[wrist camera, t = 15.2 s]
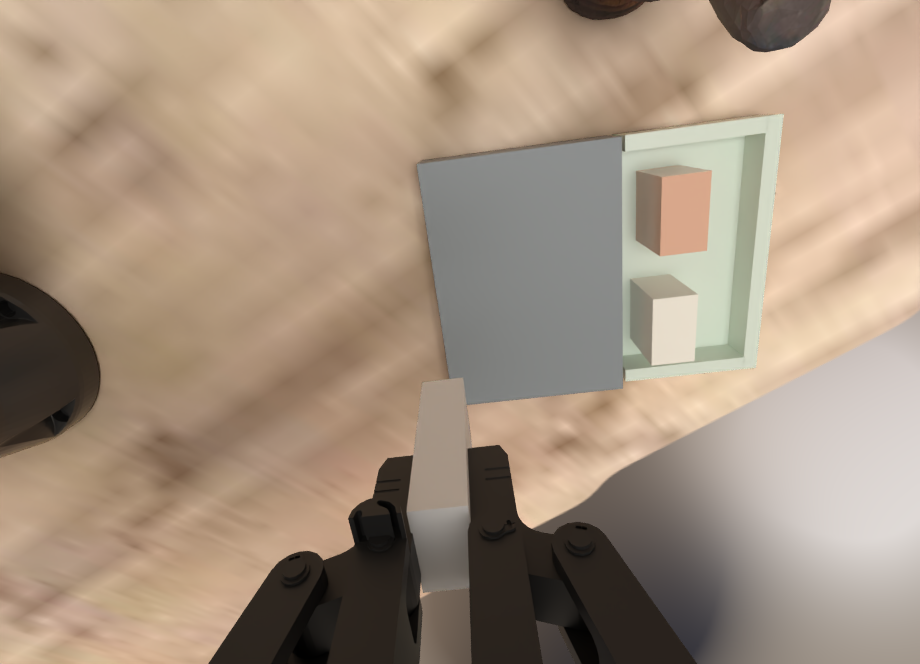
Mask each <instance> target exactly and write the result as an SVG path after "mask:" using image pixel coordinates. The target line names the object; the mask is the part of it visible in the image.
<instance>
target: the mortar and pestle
mask: <svg viewBox="0 0 920 664" xmlns="http://www.w3.org/2000/svg"><path fill="white" fill-rule="evenodd" d="M653 1H658V0H565V2H566V4H567V5H568V7H569V8H570V9H572V10H573V11H575V12H577V13H578V14H580V15H581V16H584V17H587V18H590V19H597V20H599V19H611V18H617V17H620V16H623V15H626V14H628V13H630V12H632V11H633V10H635V9H637V8H638V7H640V6H641V5H642V4H643V3H644V2H653ZM709 1H710V3H711V5H712V7H713V9H714V11H715V13H716V15H717V17H718V19H719V20H720V21H721V23H722V24H723V25H724V27H725V28H726V29H727V31H728V32H729V33H730V35H731V36H732V37H733V38H734V39H736V40H737V41H739V42H741V43H743V44H744V45H745V46H746V47H748V48H749V49H751V50H753V51H758V52H770V51H775V50H780V49H784V48H788V47H792V46H794V45H795V44H796V43H798V42H799V41H800V40H802V39H803V38H804V37H806V36H807V35H808V34H809V33H810V32H812V31H813V30H814V29H815V28H816V27H817V26H818V25H819V24H820V22H821V21H822V19H823V18H824V17H825V15H826V14H827V12H828V11H829V7H830V3H831V0H709Z"/></svg>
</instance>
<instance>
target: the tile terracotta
mask: <svg viewBox="0 0 920 664" xmlns="http://www.w3.org/2000/svg"><path fill="white" fill-rule="evenodd" d="M711 177H712V170H706V169H700V168H694V167H689V166H683V165H674V166H667V167H659V168H652V169H644V170H637V171H636V241H638V242H639V243H641V244H642V245H644V246H645V247H647V248H648V249H650V250H651V251H653V252H654V253H656V254H657V255H659V256H668V255H676V254H684V253H692V252H701V251H707V243H708V227H709V210H710V194H711Z"/></svg>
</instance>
